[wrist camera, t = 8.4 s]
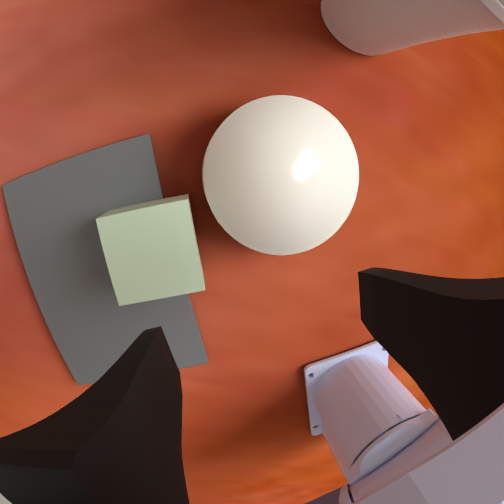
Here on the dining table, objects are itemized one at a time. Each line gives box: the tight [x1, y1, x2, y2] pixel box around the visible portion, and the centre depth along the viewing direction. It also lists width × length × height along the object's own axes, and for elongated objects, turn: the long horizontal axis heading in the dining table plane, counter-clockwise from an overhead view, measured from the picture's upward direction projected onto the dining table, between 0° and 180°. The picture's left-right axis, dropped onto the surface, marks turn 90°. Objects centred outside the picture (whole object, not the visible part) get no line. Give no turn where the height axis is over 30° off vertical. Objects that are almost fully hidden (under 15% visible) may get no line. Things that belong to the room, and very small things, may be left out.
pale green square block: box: [96, 194, 205, 306], centre depth 17 cm, size 5×5×3 cm
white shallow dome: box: [202, 95, 359, 255], centre depth 18 cm, size 9×9×3 cm
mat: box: [2, 134, 209, 385], centre depth 19 cm, size 16×11×1 cm
